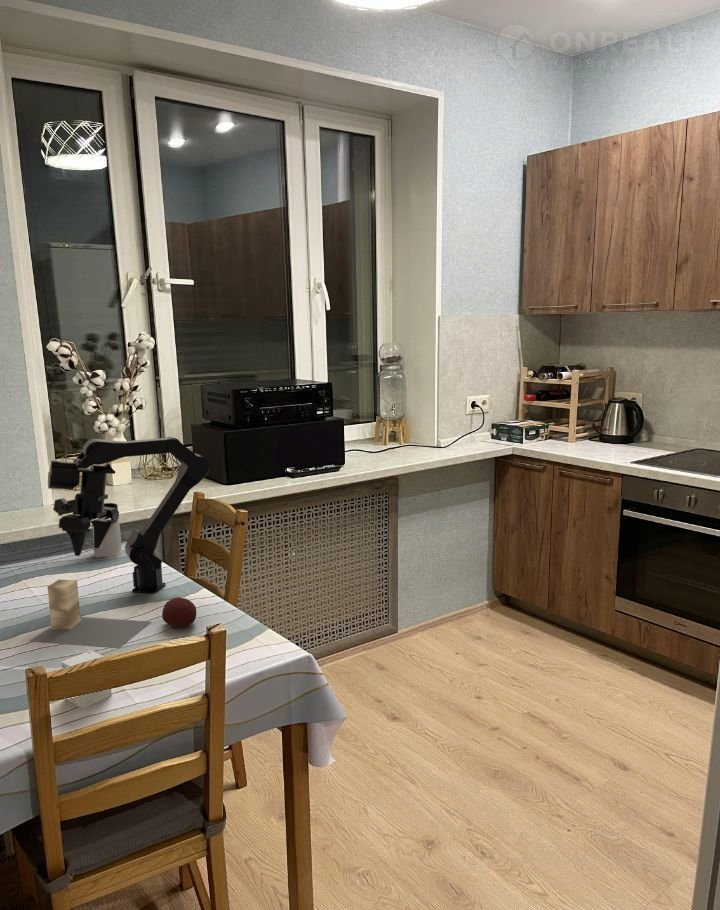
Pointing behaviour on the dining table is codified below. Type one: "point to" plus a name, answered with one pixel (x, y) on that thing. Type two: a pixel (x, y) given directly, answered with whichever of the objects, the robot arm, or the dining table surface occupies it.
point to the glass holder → (109, 539)
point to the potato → (179, 612)
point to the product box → (89, 698)
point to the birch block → (64, 604)
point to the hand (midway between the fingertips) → (87, 551)
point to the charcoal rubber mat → (94, 633)
